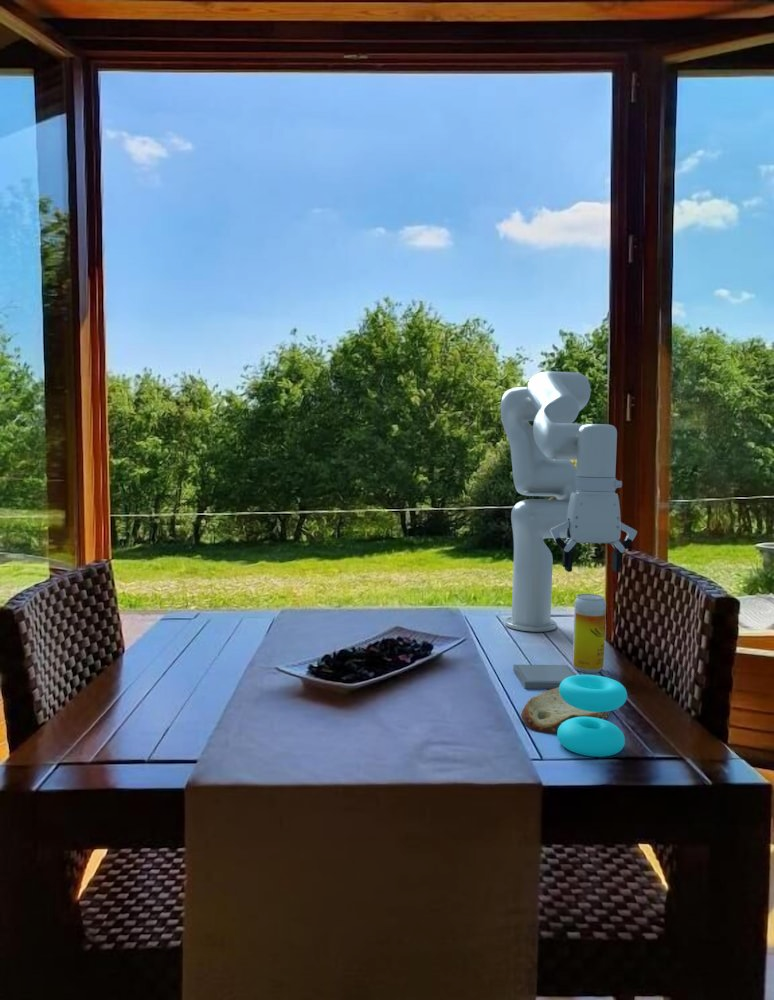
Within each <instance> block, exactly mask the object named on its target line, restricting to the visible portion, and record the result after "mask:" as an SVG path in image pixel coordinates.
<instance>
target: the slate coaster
mask: <svg viewBox="0 0 774 1000" xmlns="http://www.w3.org/2000/svg"><path fill="white" fill-rule="evenodd" d="M512 667H513V669H512V671H513V672H514V674H515V676H516V678H517V679H518V680H519V682H520V683H521V685H522V687H523V688H524V689H532V690H533V689H534V690H535V689H536V690H537V689H539V690H540V689H545V690H546V689H548V690H551V689H554V688H557V687H559V686H560V683H561V682H562V681H563V680H564V679H565V678H567V677H570V676H574V675H577V674H576V673H575V672H574V670H573V669H571V667H570V666H569V665H568V664H567V665H566V664H513V666H512Z"/></svg>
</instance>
